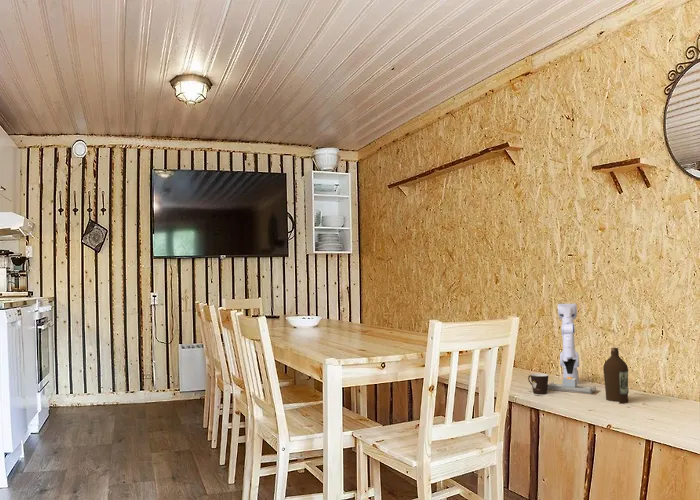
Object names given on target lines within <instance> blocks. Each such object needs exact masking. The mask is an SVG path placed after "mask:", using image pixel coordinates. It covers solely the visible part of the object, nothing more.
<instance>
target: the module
mask: <svg viewBox="0 0 700 500" xmlns="http://www.w3.org/2000/svg"><path fill="white" fill-rule="evenodd" d="M562 385H563V386H567V387H577V386H578V384H577V379H576V378H572V377H567V378H563V377H562Z"/></svg>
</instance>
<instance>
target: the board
mask: <svg viewBox="0 0 700 500" xmlns="http://www.w3.org/2000/svg"><path fill="white" fill-rule="evenodd" d="M549 391H551V392H552V391H553V392H556V391H555V390H549ZM559 392H560V393H561V392H562V393H566V392H565V391H559ZM600 392H601V390H596V391H595V392H594V393H593V394H589V395H591V396H596V395H597V394H599V393H600ZM569 393H570V394H576V393H575V392H569ZM579 394H583V395H586V394H585V393H579Z"/></svg>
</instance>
